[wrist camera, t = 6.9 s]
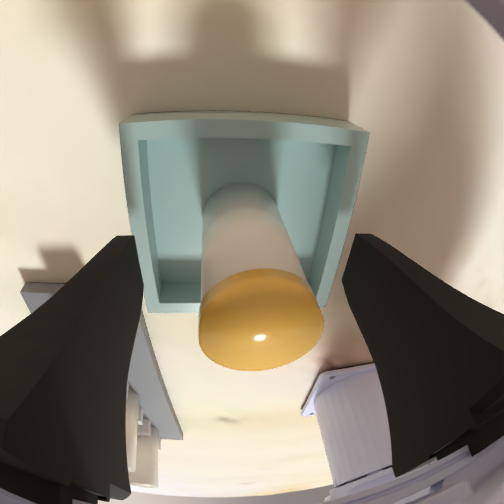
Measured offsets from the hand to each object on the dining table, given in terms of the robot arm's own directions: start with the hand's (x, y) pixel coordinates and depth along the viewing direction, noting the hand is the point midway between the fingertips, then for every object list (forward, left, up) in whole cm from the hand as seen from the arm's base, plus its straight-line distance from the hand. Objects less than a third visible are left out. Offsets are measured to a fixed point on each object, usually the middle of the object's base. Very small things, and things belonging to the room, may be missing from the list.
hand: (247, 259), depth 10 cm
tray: (0, 0, -3) cm, 3 cm away
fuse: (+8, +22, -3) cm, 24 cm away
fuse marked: (0, 0, -3) cm, 3 cm away
